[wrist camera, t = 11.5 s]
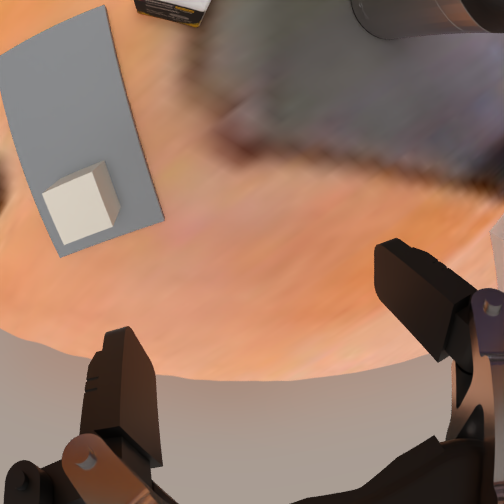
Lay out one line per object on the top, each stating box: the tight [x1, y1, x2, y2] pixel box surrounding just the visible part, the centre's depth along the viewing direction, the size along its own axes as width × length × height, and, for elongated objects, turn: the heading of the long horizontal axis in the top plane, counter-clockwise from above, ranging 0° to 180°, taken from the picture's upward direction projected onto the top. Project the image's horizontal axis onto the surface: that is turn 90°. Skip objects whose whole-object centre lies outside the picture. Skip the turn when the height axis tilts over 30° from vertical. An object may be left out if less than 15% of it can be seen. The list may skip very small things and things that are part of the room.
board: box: [0, 5, 165, 258], centre depth 26 cm, size 14×26×6 cm, turn 13°
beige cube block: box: [42, 160, 121, 245], centre depth 29 cm, size 6×6×6 cm
